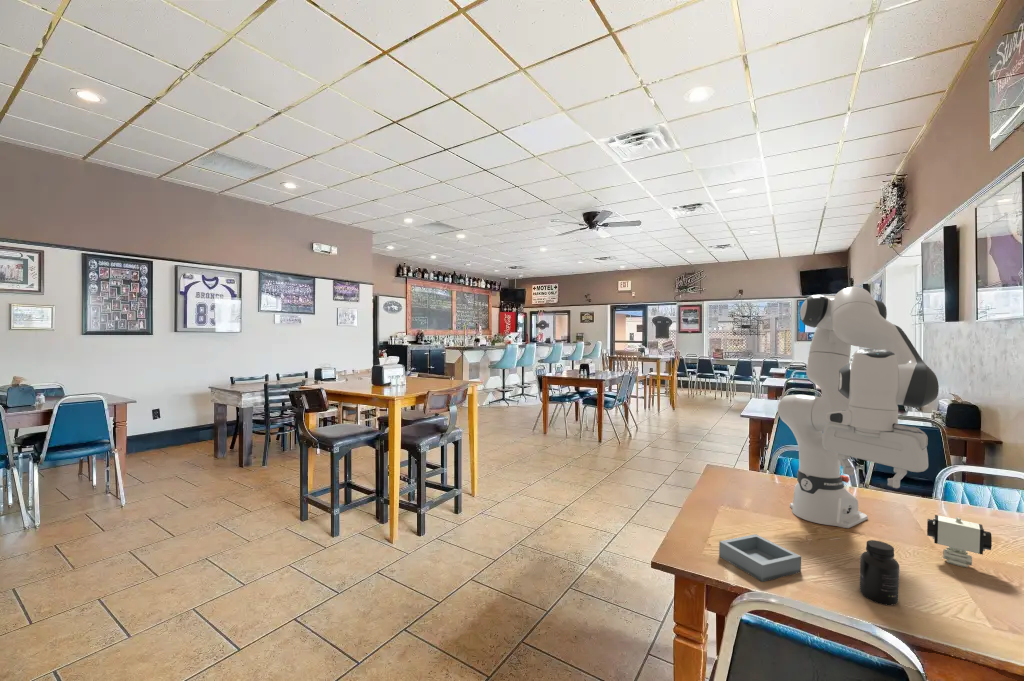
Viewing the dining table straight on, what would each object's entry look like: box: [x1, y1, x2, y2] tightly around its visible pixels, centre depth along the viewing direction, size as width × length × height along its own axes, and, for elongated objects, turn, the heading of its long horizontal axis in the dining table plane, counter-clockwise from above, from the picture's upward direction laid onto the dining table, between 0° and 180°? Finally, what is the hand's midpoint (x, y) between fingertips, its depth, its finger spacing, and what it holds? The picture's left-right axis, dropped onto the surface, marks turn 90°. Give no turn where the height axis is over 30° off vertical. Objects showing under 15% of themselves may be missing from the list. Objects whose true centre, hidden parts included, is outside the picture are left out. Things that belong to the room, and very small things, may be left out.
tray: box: [718, 533, 802, 583], centre depth 115 cm, size 13×13×4 cm
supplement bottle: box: [859, 539, 900, 606], centre depth 101 cm, size 7×7×12 cm
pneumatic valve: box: [926, 514, 993, 568], centre depth 117 cm, size 6×12×12 cm, turn 47°
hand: (870, 480), depth 103 cm, fingers open, 8 cm apart
